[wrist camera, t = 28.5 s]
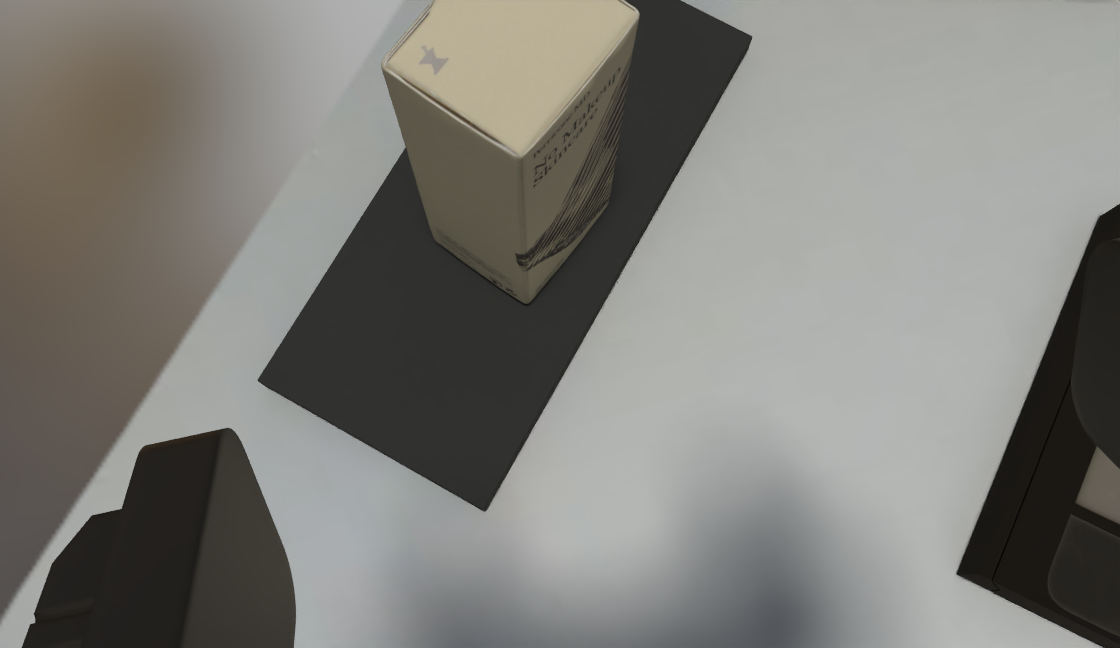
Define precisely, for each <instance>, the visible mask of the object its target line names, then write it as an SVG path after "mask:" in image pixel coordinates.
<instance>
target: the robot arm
mask: <svg viewBox="0 0 1120 648" xmlns="http://www.w3.org/2000/svg"><path fill="white" fill-rule="evenodd" d="M1071 391H1072V398H1073V402H1074V406H1075V409H1076V412H1077V415H1078V418H1079V420H1080V422H1081V424H1082V426H1083V428H1084V430H1085V431H1086V433H1087V434H1088V436H1089V437H1090V439H1091V440H1092V441H1093V442H1094V443H1095V444H1096V445H1097V446H1098V447H1099V449H1100V450H1101V451H1102V452H1103V453H1104V454H1105V455H1106V456H1107V457H1108V458H1109V459H1110V460H1111V461H1112V462H1113V463H1114V464H1115V465H1116V466H1117V467H1118V468H1119V469H1120V238H1117V239H1113V240H1108V241H1104V242H1102V243H1100V244H1098V245H1097V246H1096V247H1095V248H1094V250H1093V251H1092V253H1091V255H1090V257H1089V260H1088V263H1087V268H1086V275H1085V282H1084V289H1083V296H1082V303H1081V310H1080V318H1079V325H1078V332H1077V339H1076V346H1075V353H1074V360H1073V367H1072V375H1071ZM34 615H35V623H34V624H30V626H29V629H28V632H27V635H26V638H25V640H24V643H23V646H22V648H294V637H295V624H296V604H295V593H294V586H293V579H292V574H291V570H290V566H289V562H288V558H287V555H286V552H285V549H284V547H283V544H282V542H281V539H280V537H279V534H278V532H277V529H276V527H275V524H274V522H273V519H272V517H271V514H270V512H269V509H268V507H267V504H266V502H265V499H264V497H263V494H262V492H261V489H260V487H259V484H258V482H257V479H256V477H255V474H254V472H253V469H252V467H251V464H250V462H249V459H248V457H247V454H246V452H245V449H244V447H243V445H242V443H241V441H240V439H239V437H238V436H237V434H236V433H235V432H234V431H233V430H232V429H230V428H225V429H220V430H215V431H211V432H206V433H202V434H197V435H192V436H188V437H183V438H178V439H174V440H169V441H164V442H160V443H155V444H150V445H146V446H144V447H143V448H142V449H141V450H140V452H139V454H138V457H137V460H136V463H135V466H134V470H133V473H132V476H131V480H130V483H129V486H128V490H127V493H126V496H125V500H124V503H123V506H122V509H120V510H115V511H110V512H106V513H101V514H97V515H92V516H91V517H90V518H89V520H88V521H87V522H86V523H85V524H84V526H83V527H82V528H81V529H80V531H79V532H78V533H77V534H76V535H75V537H74V538H73V539H72V540H71V541H70V543H69V544H68V545H67V546H66V547H65V549H64V550H63V551H62V552H61V554H60V555H59V556H58V557H57V558H56V560H55V561H54V562H53V563H52V565H51V568H50V571H49V574H48V577H47V579H46V582H45V585H44V588H43V590H42V593H41V596H40V599H39V602H38V604H37V607H36V610H35V613H34Z"/></svg>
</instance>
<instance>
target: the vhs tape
mask: <svg viewBox="0 0 1120 648" xmlns="http://www.w3.org/2000/svg"><path fill="white" fill-rule="evenodd" d="M1117 238H1120V204H1119V205H1117V206H1116V207H1114V208H1112V209H1111V210H1109V211H1108V212H1106V213H1105V214H1103V215H1102V216H1100V218H1099V221H1098V223H1097V226H1096V228H1095V231H1094V233H1093V236H1092V238H1091V241H1090V243H1089V246H1088V248H1087V251H1086V253H1085V256H1084V258H1083V261H1082V263H1081V266H1080V268H1079V271H1078V273H1077V276H1076V278H1075V281H1074V283H1073V286H1072V288H1071V291H1070V293H1069V296H1068V298H1067V301H1066V303H1065V306H1064V308H1063V311H1062V313H1061V316H1060V318H1059V321H1058V323H1057V326H1056V328H1055V331H1054V333H1053V336H1052V338H1051V341H1050V343H1049V346H1048V348H1047V351H1046V353H1045V356H1044V358H1043V361H1042V363H1041V366H1040V368H1039V371H1038V373H1037V376H1036V378H1035V381H1034V383H1033V386H1032V388H1031V391H1030V393H1029V396H1028V398H1027V401H1026V403H1025V406H1024V409H1023V411H1022V414H1021V416H1020V419H1019V421H1018V424H1017V426H1016V429H1015V431H1014V434H1013V436H1012V439H1011V441H1010V444H1009V446H1008V449H1007V451H1006V454H1005V456H1004V459H1003V461H1002V464H1001V466H1000V469H999V471H998V474H997V476H996V479H995V481H994V484H993V486H992V489H991V491H990V494H989V496H988V499H987V501H986V504H985V506H984V509H983V511H982V514H981V516H980V519H979V521H978V524H977V526H976V529H975V531H974V534H973V536H972V539H971V541H970V544H969V546H968V549H967V551H966V554H965V556H964V559H963V561H962V564H961V566H960V569H959V571H958V575H960V576H962V577H964V578H966V579H968V580H970V581H972V582H974V583H976V584H978V585H980V586H982V587H984V588H986V589H988V590H991V591H992V592H994V593H996V594H998V595H999V596H1001V597H1003V598H1005V599H1007V600H1009V601H1011V602H1013V603H1015V604H1017V605H1019V606H1021V607H1023V608H1025V609H1028V610H1030V611H1032V612H1034V613H1036V614H1038V615H1040V616H1042V617H1044V618H1046V619H1048V620H1050V621H1052V622H1054V623H1056V624H1058V625H1060V626H1062V627H1064V628H1066V629H1068V630H1070V631H1072V632H1074V633H1076V634H1078V635H1080V636H1082V637H1084V638H1086V639H1088V640H1090V641H1092V642H1094V643H1096V644H1098V645H1101V646H1103V647H1105V648H1120V469H1119V468H1118V467H1117V466H1116V465H1115V464H1114V463H1113V462H1112V461H1111V460H1110V459H1109V458H1108V457H1107V456H1106V455H1105V454H1104V453H1103V452H1102V451H1101V450H1100V449H1099V447H1098V446H1097V445H1096V444H1095V443H1094V442H1093V441H1092V440H1091V439H1090V437H1089V436H1088V434H1087V433H1086V431H1085V430H1084V428H1083V426H1082V424H1081V422H1080V420H1079V418H1078V415H1077V412H1076V409H1075V406H1074V402H1073V398H1072V391H1071V375H1072V367H1073V360H1074V353H1075V346H1076V339H1077V332H1078V325H1079V318H1080V310H1081V303H1082V296H1083V289H1084V282H1085V275H1086V268H1087V263H1088V260H1089V257H1090V255H1091V253H1092V251H1093V250H1094V248H1095V247H1096V246H1097V245H1098V244H1100V243H1102V242H1104V241H1108V240H1113V239H1117Z"/></svg>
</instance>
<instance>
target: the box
mask: <svg viewBox="0 0 1120 648" xmlns="http://www.w3.org/2000/svg"><path fill="white" fill-rule="evenodd" d="M639 15H640V14H639V12H638V10H637V9H636V8H635V7H633V6H632V5H630V4H629V3H627V2H626V1H624V0H433V1H432V2H431V3H430V4H429V6H428V7H427V8H426V9H425V10H424V11H423V12H422V14H421V15H420V16H419V17H418V18H417V19H416V21H415V22H414V23H413V24H412V25H411V26H410V28H409V29H408V30H407V31H406V32H405V33H404V35H403V36H402V37H401V38H400V39H399V41H398V42H397V43H396V44H395V45H394V47H393V48H392V49H391V50H390V51H389V53H388V54H387V55H386V56H385V57H384V58H383V60H382V62H381V68H382V71H383V74H384V77H385V81H386V84H387V87H388V90H389V94H390V97H391V100H392V103H393V106H394V110H395V113H396V116H397V119H398V123H399V126H400V129H401V133H402V137H403V140H404V143H405V146H406V149H407V153H408V156H409V160H410V163H411V166H412V170H413V173H414V176H415V179H416V183H417V186H418V190H419V193H420V196H421V200H422V203H423V206H424V210H425V213H426V216H427V220H428V223H429V226H430V229H431V232H432V235H433V238H434V240H435V241H436V242H437V243H439V244H440V245H441V246H443V247H444V248H446V249H447V250H448V251H450V252H451V253H452V254H453V255H455V256H456V257H457V258H459V259H460V260H462V261H463V262H464V263H466V264H467V265H468V266H470V267H471V268H473V269H474V270H475V271H477V272H478V273H480V274H481V275H483V276H484V277H485V278H487V279H488V280H490V281H491V282H492V283H494V284H495V285H497V286H498V287H499V288H501V289H502V290H504V291H505V292H507V293H508V294H510V295H512V296H513V297H514V298H516V299H517V300H519V301H521V302H522V303H524V304H528V303H530V302H531V301H532V300H533V299H534V297H535V296H536V295H537V294H538V293H539V291H540V290H541V289H542V288H543V287H544V286H545V284H546V283H547V282H548V281H549V280H550V279H551V277H552V276H553V275H554V274H555V273H556V271H557V270H558V269H559V268H560V267H561V265H562V264H563V263H564V262H565V261H566V259H567V258H568V257H569V256H570V254H571V253H572V252H573V250H574V249H575V248H576V247H577V246H578V244H579V243H580V242H581V240H582V239H583V238H584V236H585V235H586V234H587V232H588V231H589V230H590V228H591V227H592V226H593V224H594V223H595V222H596V220H597V219H598V218H599V216H600V215H601V214H602V212H603V211H604V210H605V208H606V207H607V205H608V203H609V200H610V194H611V188H612V180H613V174H614V170H615V168H614V167H615V163H616V156H617V152H618V144H619V140H620V131H621V124H622V120H623V111H624V107H625V98H626V93H627V84H628V79H629V72H630V65H631V59H632V54H633V47H634V42H635V36H636V31H637V26H638V21H639Z"/></svg>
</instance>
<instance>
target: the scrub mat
mask: <svg viewBox="0 0 1120 648" xmlns="http://www.w3.org/2000/svg"><path fill="white" fill-rule="evenodd" d="M624 1H626V2H627V3H629V4H630V5H632V6H633V7H635V8H636V9H637V10H638V12H639V14H640V15H639V21H638V26H637V31H636V36H635V42H634V47H633V54H632V59H631V65H630V72H629V79H628V84H627V93H626V98H625V107H624V111H623V120H622V124H621V131H620V140H619V144H618V152H617V156H616V163H615V167H614V168H615V170H614V174H613V180H612V188H611V194H610V200H609V203H608V205H607V207H606V208H605V210H604V211H603V212H602V214H601V215H600V216H599V218H598V219H597V220H596V222H595V223H594V224H593V226H592V227H591V228H590V230H589V231H588V232H587V234H586V235H585V236H584V238H583V239H582V240H581V242H580V243H579V244H578V246H577V247H576V248H575V249H574V250H573V252H572V253H571V254H570V256H569V257H568V258H567V259H566V261H565V262H564V263H563V264H562V265H561V267H560V268H559V269H558V270H557V271H556V273H555V274H554V275H553V276H552V277H551V279H550V280H549V281H548V282H547V283H546V284H545V286H544V287H543V288H542V289H541V290H540V291H539V293H538V294H537V295H536V296H535V297H534V299H533V300H532V301H531V302H530V303H528V304H524V303H522V302H521V301H519V300H517V299H516V298H514V297H513V296H512V295H510V294H508V293H507V292H505V291H504V290H502V289H501V288H499V287H498V286H497V285H495V284H494V283H492V282H491V281H490V280H488V279H487V278H485V277H484V276H483V275H481V274H480V273H478V272H477V271H475V270H474V269H473V268H471V267H470V266H468V265H467V264H466V263H464V262H463V261H462V260H460V259H459V258H457V257H456V256H455V255H453V254H452V253H451V252H450V251H448V250H447V249H446V248H444V247H443V246H441V245H440V244H439V243H437V242H436V241H435V240H434V238H433V235H432V232H431V229H430V226H429V223H428V220H427V216H426V213H425V210H424V206H423V203H422V200H421V196H420V193H419V190H418V186H417V183H416V179H415V176H414V173H413V170H412V166H411V163H410V160H409V156H408V153H407V149H406V148H405V149H404V151H403V153H402V154H401V156H400V157H399V159H398V160H397V162H396V164H395V165H394V167H393V168H392V170H391V171H390V173H389V175H388V176H387V178H386V179H385V181H384V182H383V184H382V186H381V187H380V189H379V190H378V192H377V193H376V195H375V197H374V198H373V200H372V201H371V203H370V204H369V206H368V207H367V209H366V211H365V212H364V214H363V215H362V217H361V218H360V220H359V222H358V223H357V225H356V226H355V228H354V229H353V231H352V233H351V234H350V236H349V237H348V239H347V240H346V242H345V244H344V245H343V247H342V248H341V250H340V251H339V253H338V255H337V256H336V258H335V259H334V261H333V262H332V264H331V266H330V267H329V269H328V270H327V272H326V273H325V275H324V277H323V278H322V280H321V281H320V283H319V284H318V286H317V288H316V289H315V291H314V292H313V294H312V295H311V297H310V299H309V300H308V302H307V303H306V305H305V306H304V308H303V310H302V311H301V313H300V314H299V316H298V317H297V319H296V321H295V322H294V324H293V325H292V327H291V328H290V330H289V332H288V333H287V335H286V336H285V338H284V339H283V341H282V343H281V344H280V346H279V347H278V349H277V350H276V352H275V354H274V355H273V357H272V358H271V360H270V361H269V363H268V365H267V366H266V368H265V369H264V371H263V372H262V374H261V376H260V377H259V379H258V382H260V383H261V384H263V385H265V386H266V387H268V388H270V389H271V390H273V391H275V392H277V393H278V394H280V395H282V396H284V397H285V398H287V399H289V400H291V401H292V402H294V403H296V404H298V405H299V406H301V407H303V408H305V409H306V410H308V411H310V412H312V413H313V414H315V415H317V416H319V417H320V418H322V419H324V420H326V421H327V422H329V423H331V424H332V425H334V426H336V427H338V428H339V429H341V430H343V431H345V432H346V433H348V434H350V435H352V436H353V437H355V438H357V439H359V440H360V441H362V442H364V443H366V444H367V445H369V446H371V447H373V448H374V449H376V450H378V451H380V452H381V453H383V454H385V455H387V456H388V457H390V458H392V459H394V460H395V461H397V462H399V463H401V464H402V465H404V466H406V467H408V468H409V469H411V470H413V471H415V472H416V473H418V474H420V475H421V476H423V477H425V478H427V479H428V480H430V481H432V482H434V483H435V484H437V485H439V486H441V487H442V488H444V489H446V490H448V491H449V492H451V493H453V494H455V495H456V496H458V497H460V498H462V499H463V500H465V501H467V502H469V503H470V504H472V505H474V506H476V507H477V508H479V509H481V510H483V511H486V510H487V508H488V506H489V505H490V503H491V501H492V499H493V498H494V496H495V494H496V492H497V490H498V489H499V487H500V485H501V483H502V482H503V480H504V478H505V476H506V475H507V473H508V471H509V469H510V468H511V466H512V464H513V462H514V461H515V459H516V457H517V455H518V453H519V452H520V450H521V448H522V446H523V445H524V443H525V441H526V439H527V438H528V436H529V434H530V432H531V431H532V429H533V427H534V425H535V424H536V422H537V420H538V418H539V416H540V415H541V413H542V411H543V409H544V408H545V406H546V404H547V402H548V401H549V399H550V397H551V395H552V394H553V392H554V390H555V388H556V387H557V385H558V383H559V381H560V380H561V378H562V376H563V374H564V372H565V371H566V369H567V367H568V365H569V364H570V362H571V360H572V358H573V357H574V355H575V353H576V351H577V350H578V348H579V346H580V344H581V343H582V341H583V339H584V337H585V335H586V334H587V332H588V330H589V328H590V327H591V325H592V323H593V321H594V320H595V318H596V316H597V314H598V313H599V311H600V309H601V307H602V306H603V304H604V302H605V300H606V299H607V297H608V295H609V293H610V291H611V290H612V288H613V286H614V284H615V283H616V281H617V279H618V277H619V276H620V274H621V272H622V270H623V269H624V267H625V265H626V263H627V262H628V260H629V258H630V256H631V254H632V253H633V251H634V249H635V247H636V246H637V244H638V242H639V240H640V239H641V237H642V235H643V233H644V232H645V230H646V228H647V226H648V225H649V223H650V221H651V219H652V218H653V216H654V214H655V212H656V210H657V209H658V207H659V205H660V203H661V202H662V200H663V198H664V196H665V195H666V193H667V191H668V189H669V188H670V186H671V184H672V182H673V181H674V179H675V177H676V175H677V173H678V172H679V170H680V168H681V166H682V165H683V163H684V161H685V159H686V158H687V156H688V154H689V152H690V151H691V149H692V147H693V145H694V144H695V142H696V140H697V138H698V137H699V135H700V133H701V131H702V129H703V128H704V126H705V124H706V122H707V121H708V119H709V117H710V115H711V114H712V112H713V110H714V108H715V107H716V105H717V103H718V101H719V100H720V98H721V96H722V94H723V92H724V91H725V89H726V87H727V85H728V84H729V82H730V80H731V78H732V77H733V75H734V73H735V71H736V70H737V68H738V66H739V64H740V63H741V61H742V59H743V57H744V56H745V54H746V52H747V50H748V48H749V45H750V43H751V40H752V36H750V35H748V34H746V33H744V32H742V31H740V30H738V29H736V28H734V27H732V26H730V25H728V24H726V23H724V22H722V21H720V20H718V19H716V18H714V17H712V16H710V15H708V14H706V13H704V12H702V11H700V10H698V9H696V8H694V7H692V6H690V5H688V4H686V3H684V2H683V1H681V0H624Z"/></svg>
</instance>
